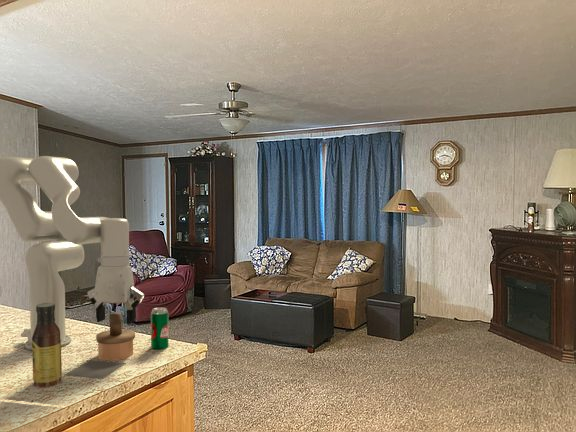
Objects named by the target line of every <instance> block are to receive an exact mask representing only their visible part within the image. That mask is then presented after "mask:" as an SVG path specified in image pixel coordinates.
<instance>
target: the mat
mask: <svg viewBox="0 0 576 432" xmlns="http://www.w3.org/2000/svg"><path fill="white" fill-rule="evenodd" d="M126 364H127V363H126V362H121V361H119V362H118V361H117V362H116V361H109V360H96V359H95V360H94V359H89V360H88V361H86V362H85V363H82V364H81V365H79V366H77V367H75V368H73V369H71V370H70V371H68V372H66V373H65V374H63V376H70V377H78V378H89V379H99V380H104V379H105V378H107V377H108V376H109V375H111V374H112V373H115V371H117V370H119V369H120V368H122V367H124V366H125V365H126Z"/></svg>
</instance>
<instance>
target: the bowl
mask: <svg viewBox="0 0 576 432" xmlns="http://www.w3.org/2000/svg"><path fill="white" fill-rule="evenodd" d="M97 345H98V349H97V350H98V354H97V355H98V358H99V359H100V360H101V361H120V360H124V359H127V358H130V357H132V356H133V354H134V339H133V340H131V341H128V342H124V343H119V344H101V343H98V342H97Z"/></svg>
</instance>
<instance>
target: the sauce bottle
mask: <svg viewBox="0 0 576 432" xmlns="http://www.w3.org/2000/svg"><path fill="white" fill-rule="evenodd" d="M54 310H55V304H54V303H41V304H38V305H37V306H36V311H37V325H36V328H35V331H34V333H33V336H32V350H31V351H32V353H31V354H32V359H31V360H32V381H33V384H34V387H35V388H36V387H37V388H49V387H53V386H56V385H58V384H60V383H61V382H62V375H63V370H62V369H63V367H62V366H63V365H62V364H63V363H62V347H61V340H60V329H59V327H58V326H57V325H56V323H55V322H54V321H55V318H54Z"/></svg>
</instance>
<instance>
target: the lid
mask: <svg viewBox="0 0 576 432" xmlns="http://www.w3.org/2000/svg"><path fill="white" fill-rule="evenodd" d="M122 313H123V312H121V311H113V312H110V313H109V330H104V331H100V332H99V333H97V334H96V338H95V339H96V342H97V344H98V343H101V344H119V343H124V342H128V341H131V340H133V341H134V339H135V337H136V332H135V330H133V329H129V328H128V329H127V328H123V323H122V322H123V321H122V320H123V317H122V316H123V315H122Z"/></svg>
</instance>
